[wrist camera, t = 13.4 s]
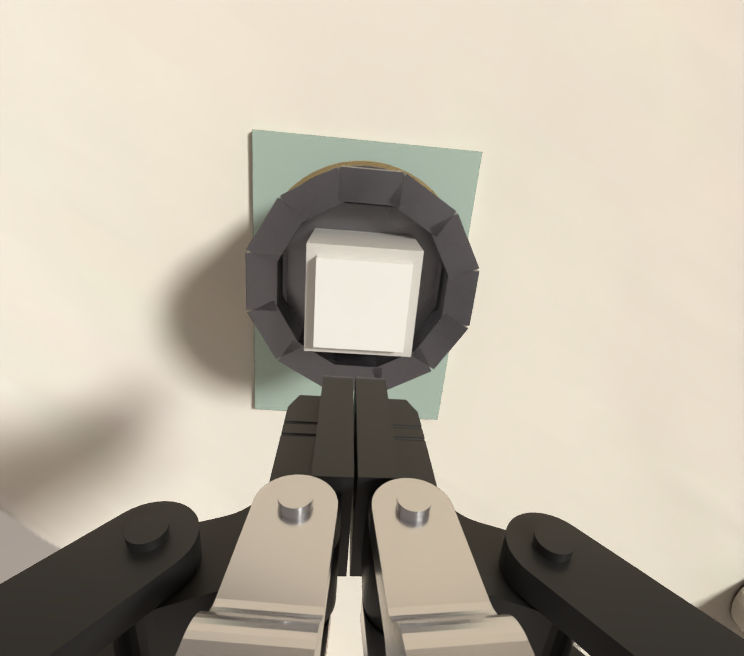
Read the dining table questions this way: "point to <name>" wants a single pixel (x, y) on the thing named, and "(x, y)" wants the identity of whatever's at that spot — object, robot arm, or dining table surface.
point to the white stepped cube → (361, 292)
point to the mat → (310, 153)
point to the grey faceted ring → (367, 214)
